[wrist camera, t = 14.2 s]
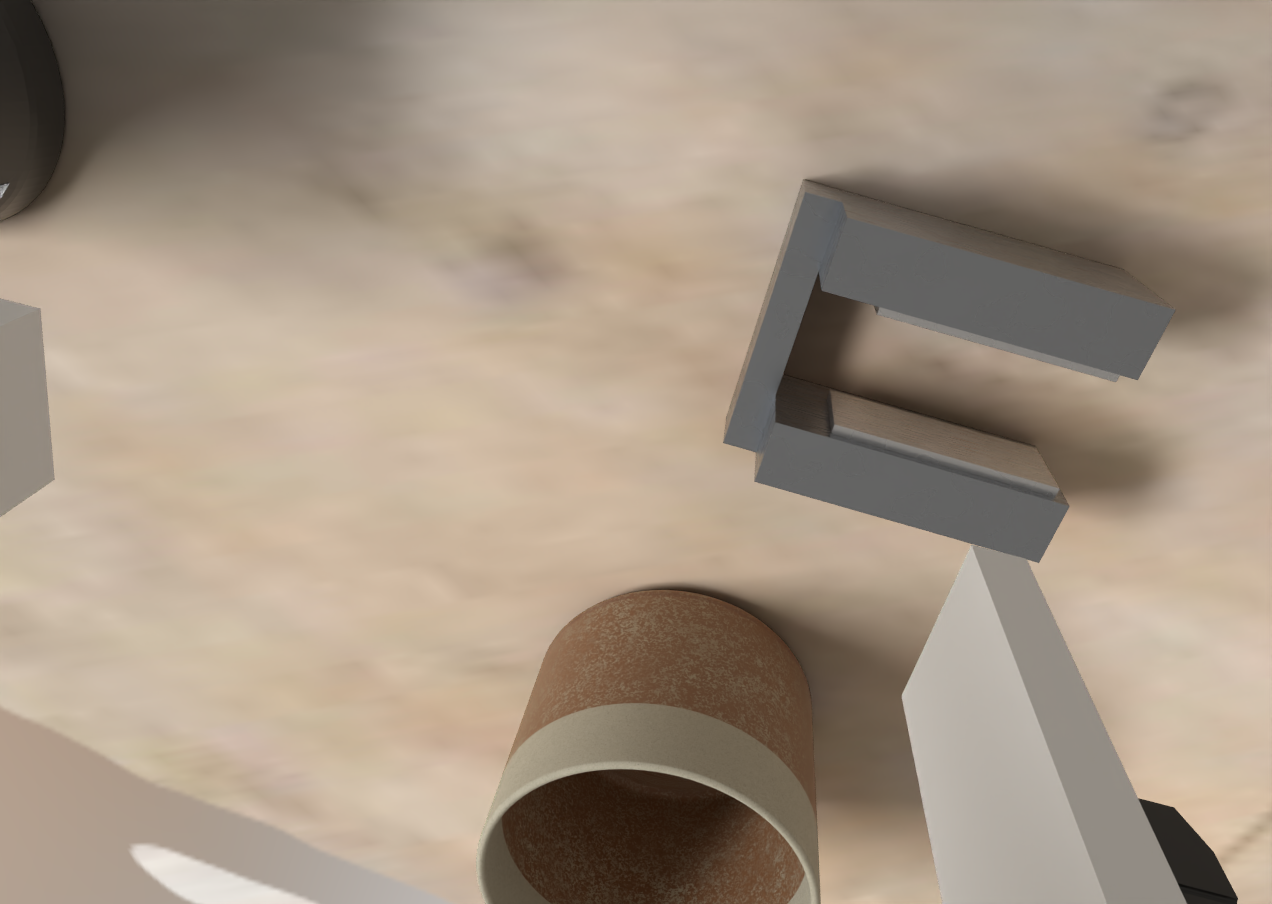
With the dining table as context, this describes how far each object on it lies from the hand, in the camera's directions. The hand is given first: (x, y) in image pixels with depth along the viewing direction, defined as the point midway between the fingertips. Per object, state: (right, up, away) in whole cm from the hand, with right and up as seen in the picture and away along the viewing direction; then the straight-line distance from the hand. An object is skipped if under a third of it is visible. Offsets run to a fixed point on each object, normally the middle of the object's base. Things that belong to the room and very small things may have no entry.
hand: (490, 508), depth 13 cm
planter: (+4, -13, +42) cm, 44 cm away
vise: (+15, +6, +31) cm, 35 cm away
